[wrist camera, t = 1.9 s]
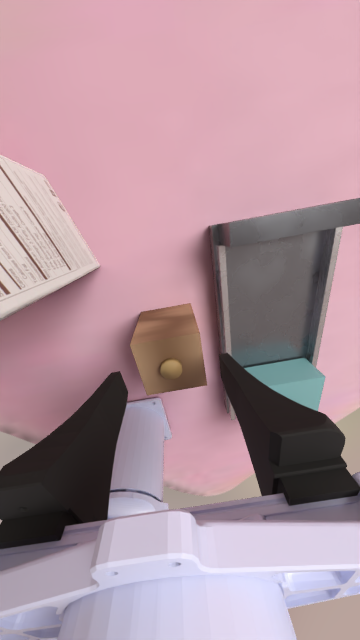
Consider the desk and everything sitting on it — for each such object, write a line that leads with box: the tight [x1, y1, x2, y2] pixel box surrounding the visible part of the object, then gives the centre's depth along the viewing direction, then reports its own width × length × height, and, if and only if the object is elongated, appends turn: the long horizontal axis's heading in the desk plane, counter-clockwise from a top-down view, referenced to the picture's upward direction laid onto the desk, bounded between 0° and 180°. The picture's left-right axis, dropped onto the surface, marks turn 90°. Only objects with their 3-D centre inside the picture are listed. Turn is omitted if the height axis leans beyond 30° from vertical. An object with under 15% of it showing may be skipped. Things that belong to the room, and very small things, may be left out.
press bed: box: [209, 198, 360, 420], centre depth 18 cm, size 10×22×4 cm, turn 10°
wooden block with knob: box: [130, 303, 207, 395], centre depth 17 cm, size 5×5×6 cm
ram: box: [244, 358, 325, 411], centre depth 18 cm, size 8×6×8 cm
